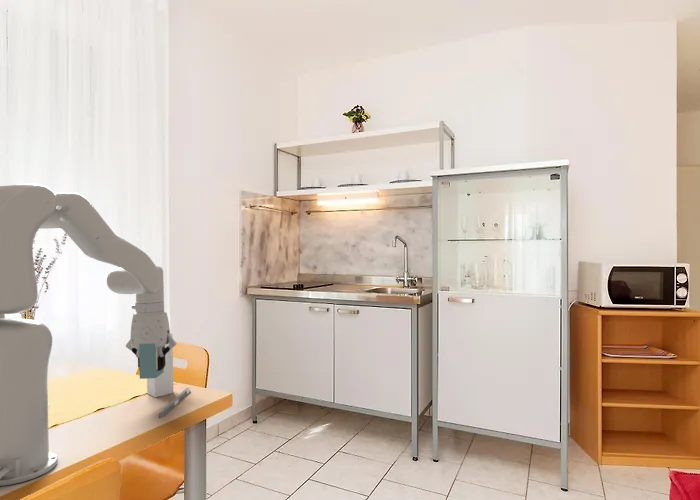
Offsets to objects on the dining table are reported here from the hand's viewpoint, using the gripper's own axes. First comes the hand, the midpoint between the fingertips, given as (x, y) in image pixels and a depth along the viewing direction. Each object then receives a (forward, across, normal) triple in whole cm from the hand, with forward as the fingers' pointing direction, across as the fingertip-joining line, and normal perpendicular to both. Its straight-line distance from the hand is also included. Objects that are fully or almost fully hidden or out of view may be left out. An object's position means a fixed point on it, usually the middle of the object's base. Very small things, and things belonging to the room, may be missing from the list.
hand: (151, 368), depth 130 cm
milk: (+11, -2, +11) cm, 15 cm away
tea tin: (+2, 0, 0) cm, 2 cm away
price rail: (+11, +6, +1) cm, 12 cm away
